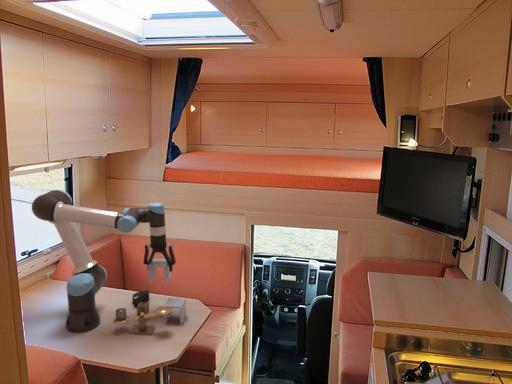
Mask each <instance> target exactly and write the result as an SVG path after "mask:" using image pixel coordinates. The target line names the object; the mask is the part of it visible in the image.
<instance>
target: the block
mask: <svg viewBox="0 0 512 384" xmlns="http://www.w3.org/2000/svg"><path fill="white" fill-rule="evenodd" d="M141 312H143V313H144V315H146V314H150V302H147V303H141V302H140V303H139V304H138V306H136V317H137V316H140V313H141ZM148 319H149V318H146V321H147V320H148Z"/></svg>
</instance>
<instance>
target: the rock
mask: <svg viewBox="0 0 512 384" xmlns="http://www.w3.org/2000/svg"><path fill="white" fill-rule="evenodd" d="M149 300H150V291H149V289H145V290H143V291H142V290H140V291H137V292H135V293H133V294H132V305H134V307H137V306H138V304H139V303H140V302H141V303H149Z"/></svg>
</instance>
